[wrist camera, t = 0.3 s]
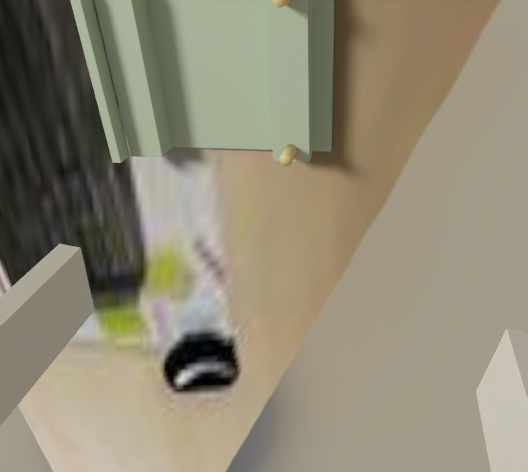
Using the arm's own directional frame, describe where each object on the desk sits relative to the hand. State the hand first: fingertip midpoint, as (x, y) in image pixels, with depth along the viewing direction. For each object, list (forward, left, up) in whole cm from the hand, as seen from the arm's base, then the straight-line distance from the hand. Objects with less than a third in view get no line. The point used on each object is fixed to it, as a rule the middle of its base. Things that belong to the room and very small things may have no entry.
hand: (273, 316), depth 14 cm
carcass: (-2, -11, -26) cm, 28 cm away
